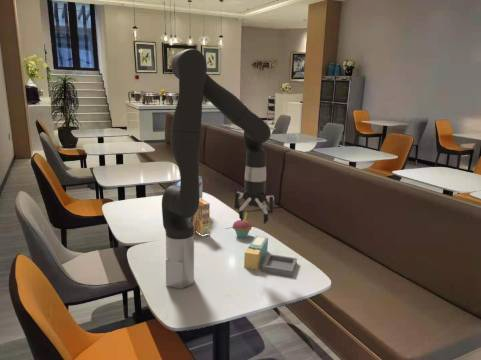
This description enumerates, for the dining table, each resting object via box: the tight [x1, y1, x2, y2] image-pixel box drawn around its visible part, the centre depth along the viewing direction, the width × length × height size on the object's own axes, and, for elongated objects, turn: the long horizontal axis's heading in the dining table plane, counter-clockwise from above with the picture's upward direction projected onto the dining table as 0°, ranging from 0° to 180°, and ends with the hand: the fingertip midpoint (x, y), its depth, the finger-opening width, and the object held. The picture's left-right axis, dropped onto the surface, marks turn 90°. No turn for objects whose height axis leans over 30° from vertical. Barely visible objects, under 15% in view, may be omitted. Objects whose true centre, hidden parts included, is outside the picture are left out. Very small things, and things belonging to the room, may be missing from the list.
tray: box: [261, 253, 298, 277], centre depth 140 cm, size 11×11×2 cm
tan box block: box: [243, 247, 261, 270], centre depth 140 cm, size 4×5×6 cm
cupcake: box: [232, 211, 253, 238], centre depth 167 cm, size 9×8×12 cm
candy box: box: [192, 198, 211, 235], centre depth 168 cm, size 9×4×15 cm, turn 33°
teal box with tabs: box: [247, 235, 269, 264], centre depth 148 cm, size 12×5×6 cm, turn 163°
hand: (253, 221), depth 136 cm, fingers open, 8 cm apart
